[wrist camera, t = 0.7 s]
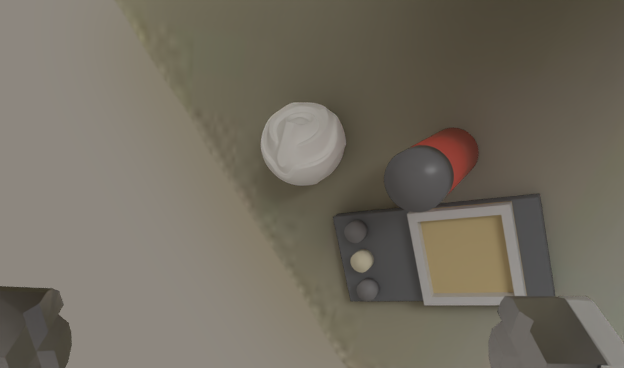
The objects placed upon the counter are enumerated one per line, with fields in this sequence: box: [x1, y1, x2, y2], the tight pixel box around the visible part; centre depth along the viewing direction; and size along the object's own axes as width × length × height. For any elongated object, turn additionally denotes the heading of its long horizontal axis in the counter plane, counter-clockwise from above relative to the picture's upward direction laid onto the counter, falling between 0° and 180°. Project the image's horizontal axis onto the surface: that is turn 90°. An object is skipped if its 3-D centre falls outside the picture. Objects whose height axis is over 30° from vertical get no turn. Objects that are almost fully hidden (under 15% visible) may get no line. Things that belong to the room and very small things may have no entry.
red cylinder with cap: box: [384, 128, 479, 213], centre depth 39 cm, size 4×4×12 cm
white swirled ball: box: [261, 102, 346, 186], centre depth 47 cm, size 8×8×8 cm
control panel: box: [333, 194, 555, 305], centre depth 46 cm, size 19×9×2 cm, turn 103°
